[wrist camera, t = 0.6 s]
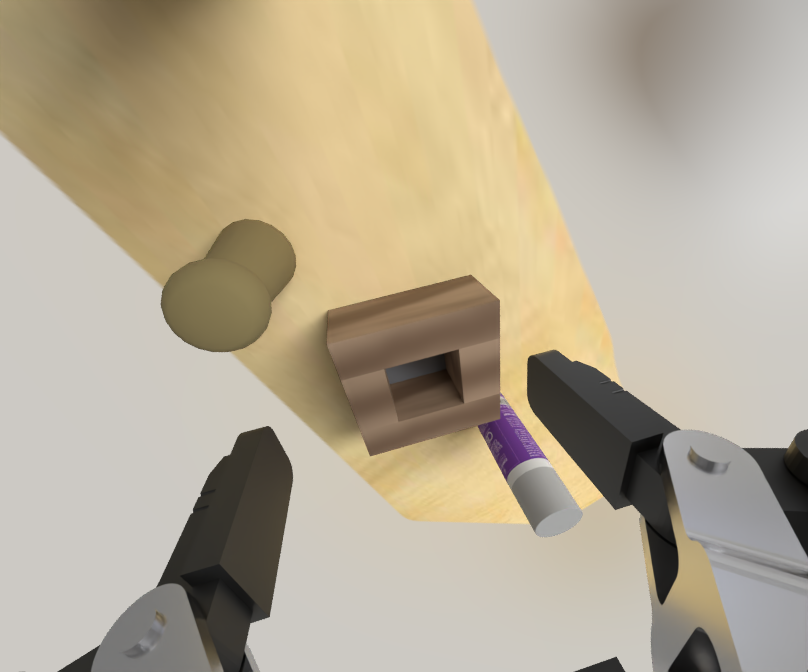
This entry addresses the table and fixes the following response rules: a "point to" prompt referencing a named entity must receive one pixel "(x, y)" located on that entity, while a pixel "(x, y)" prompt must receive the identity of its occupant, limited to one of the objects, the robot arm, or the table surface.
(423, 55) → the table surface
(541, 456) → the container
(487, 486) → the table surface
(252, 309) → the cork
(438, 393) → the well block
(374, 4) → the table surface
